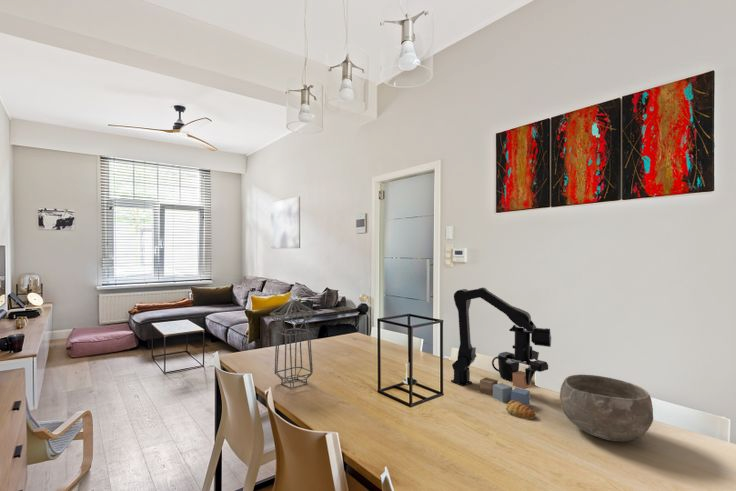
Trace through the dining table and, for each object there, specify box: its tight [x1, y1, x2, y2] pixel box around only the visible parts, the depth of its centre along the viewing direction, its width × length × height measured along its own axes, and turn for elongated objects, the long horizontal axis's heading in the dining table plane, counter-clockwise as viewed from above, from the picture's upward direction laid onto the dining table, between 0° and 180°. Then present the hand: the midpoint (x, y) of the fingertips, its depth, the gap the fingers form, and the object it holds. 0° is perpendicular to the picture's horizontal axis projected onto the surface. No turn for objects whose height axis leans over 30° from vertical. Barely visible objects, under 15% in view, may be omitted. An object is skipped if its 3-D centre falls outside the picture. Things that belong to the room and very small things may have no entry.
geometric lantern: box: [269, 299, 318, 389], centre depth 159 cm, size 16×16×35 cm
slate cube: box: [492, 382, 513, 403], centre depth 144 cm, size 5×5×5 cm
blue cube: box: [511, 387, 531, 407], centre depth 139 cm, size 5×5×5 cm
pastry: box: [505, 400, 536, 420], centre depth 130 cm, size 9×7×4 cm
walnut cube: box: [479, 377, 499, 397], centre depth 151 cm, size 5×5×5 cm
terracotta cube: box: [512, 370, 532, 390], centre depth 150 cm, size 5×5×5 cm
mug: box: [491, 353, 520, 381], centre depth 170 cm, size 12×9×10 cm
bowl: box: [559, 374, 654, 442], centre depth 117 cm, size 24×24×15 cm
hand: (522, 382), depth 150 cm, fingers closed on terracotta cube, 5 cm apart
